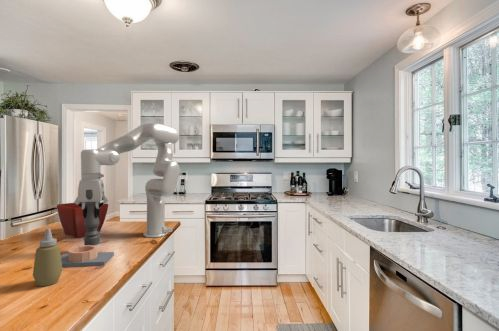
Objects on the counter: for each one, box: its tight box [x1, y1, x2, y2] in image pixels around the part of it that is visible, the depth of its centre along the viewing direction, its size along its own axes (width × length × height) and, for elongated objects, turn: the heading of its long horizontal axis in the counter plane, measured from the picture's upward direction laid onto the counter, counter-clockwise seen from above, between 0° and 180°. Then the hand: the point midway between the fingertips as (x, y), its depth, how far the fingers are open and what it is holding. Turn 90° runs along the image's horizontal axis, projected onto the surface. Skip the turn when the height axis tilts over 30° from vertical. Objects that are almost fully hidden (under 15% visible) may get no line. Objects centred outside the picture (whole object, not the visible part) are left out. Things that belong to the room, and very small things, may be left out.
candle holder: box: [83, 190, 101, 246], centre depth 125 cm, size 6×6×25 cm
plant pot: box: [56, 202, 109, 239], centre depth 154 cm, size 19×19×17 cm
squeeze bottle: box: [32, 228, 63, 287], centre depth 92 cm, size 8×8×18 cm
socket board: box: [61, 245, 115, 268], centre depth 113 cm, size 20×12×5 cm, turn 100°
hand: (91, 216), depth 125 cm, fingers closed on candle holder, 4 cm apart
